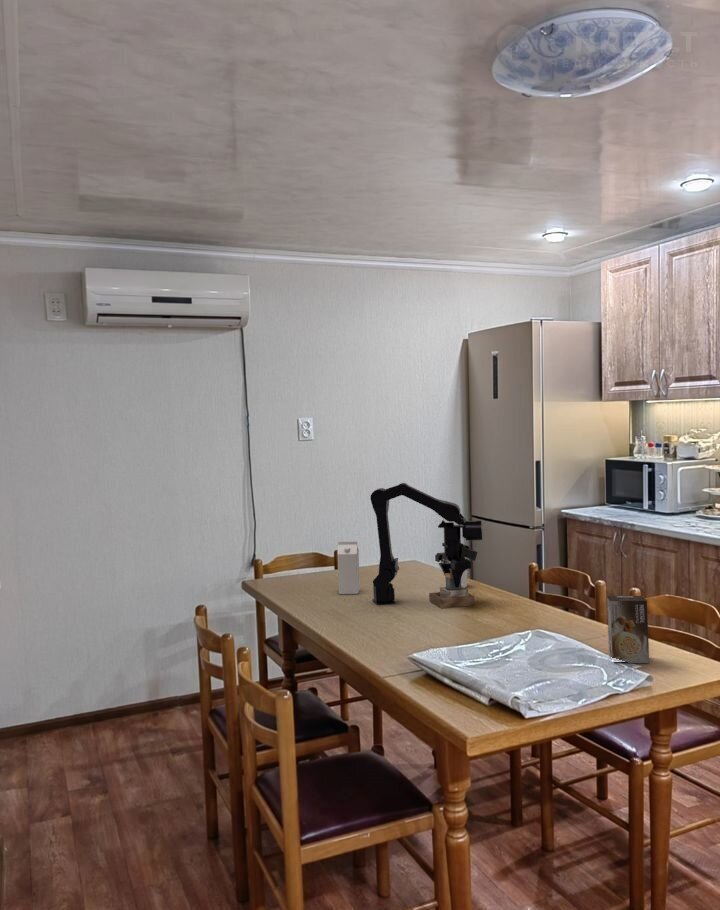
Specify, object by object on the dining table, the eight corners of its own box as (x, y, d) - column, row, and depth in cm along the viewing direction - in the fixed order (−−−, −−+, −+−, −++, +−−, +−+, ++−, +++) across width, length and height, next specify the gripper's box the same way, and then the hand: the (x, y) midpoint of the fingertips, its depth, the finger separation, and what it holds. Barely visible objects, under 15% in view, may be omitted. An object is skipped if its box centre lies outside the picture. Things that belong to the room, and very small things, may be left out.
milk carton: (341, 590, 288) (339, 540, 287) (359, 590, 288) (358, 539, 287) (338, 594, 281) (337, 543, 280) (358, 594, 280) (356, 542, 280)
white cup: (472, 587, 286) (471, 560, 286) (456, 590, 282) (455, 563, 282) (459, 583, 293) (458, 557, 292) (442, 586, 289) (442, 560, 288)
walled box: (441, 608, 255) (440, 593, 255) (429, 601, 266) (429, 587, 265) (474, 605, 258) (473, 590, 258) (461, 598, 269) (461, 584, 269)
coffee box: (644, 656, 198) (643, 594, 197) (649, 664, 192) (648, 600, 191) (608, 655, 200) (606, 594, 199) (611, 663, 193) (610, 600, 193)
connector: (450, 598, 260) (449, 574, 260) (446, 596, 264) (445, 573, 264) (461, 597, 261) (460, 573, 261) (457, 595, 265) (456, 572, 265)
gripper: (485, 542, 255) (486, 589, 255) (463, 535, 273) (464, 578, 273) (454, 545, 252) (456, 592, 252) (434, 537, 270) (435, 581, 270)
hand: (453, 585), depth 262 cm, fingers open, 6 cm apart
